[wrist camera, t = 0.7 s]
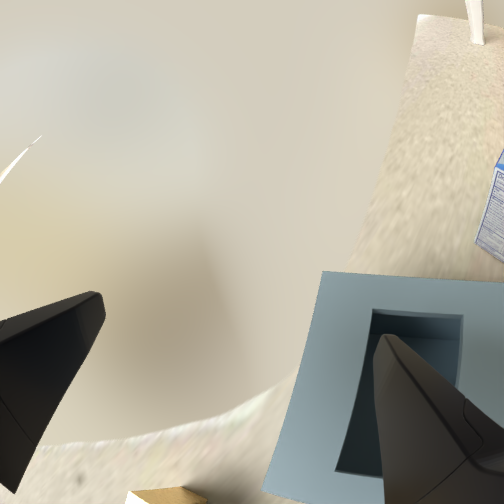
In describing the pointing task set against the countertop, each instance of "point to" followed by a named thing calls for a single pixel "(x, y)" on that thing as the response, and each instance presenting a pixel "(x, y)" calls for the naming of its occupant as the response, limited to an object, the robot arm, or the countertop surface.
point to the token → (165, 496)
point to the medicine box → (493, 216)
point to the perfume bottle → (476, 20)
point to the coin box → (362, 377)
